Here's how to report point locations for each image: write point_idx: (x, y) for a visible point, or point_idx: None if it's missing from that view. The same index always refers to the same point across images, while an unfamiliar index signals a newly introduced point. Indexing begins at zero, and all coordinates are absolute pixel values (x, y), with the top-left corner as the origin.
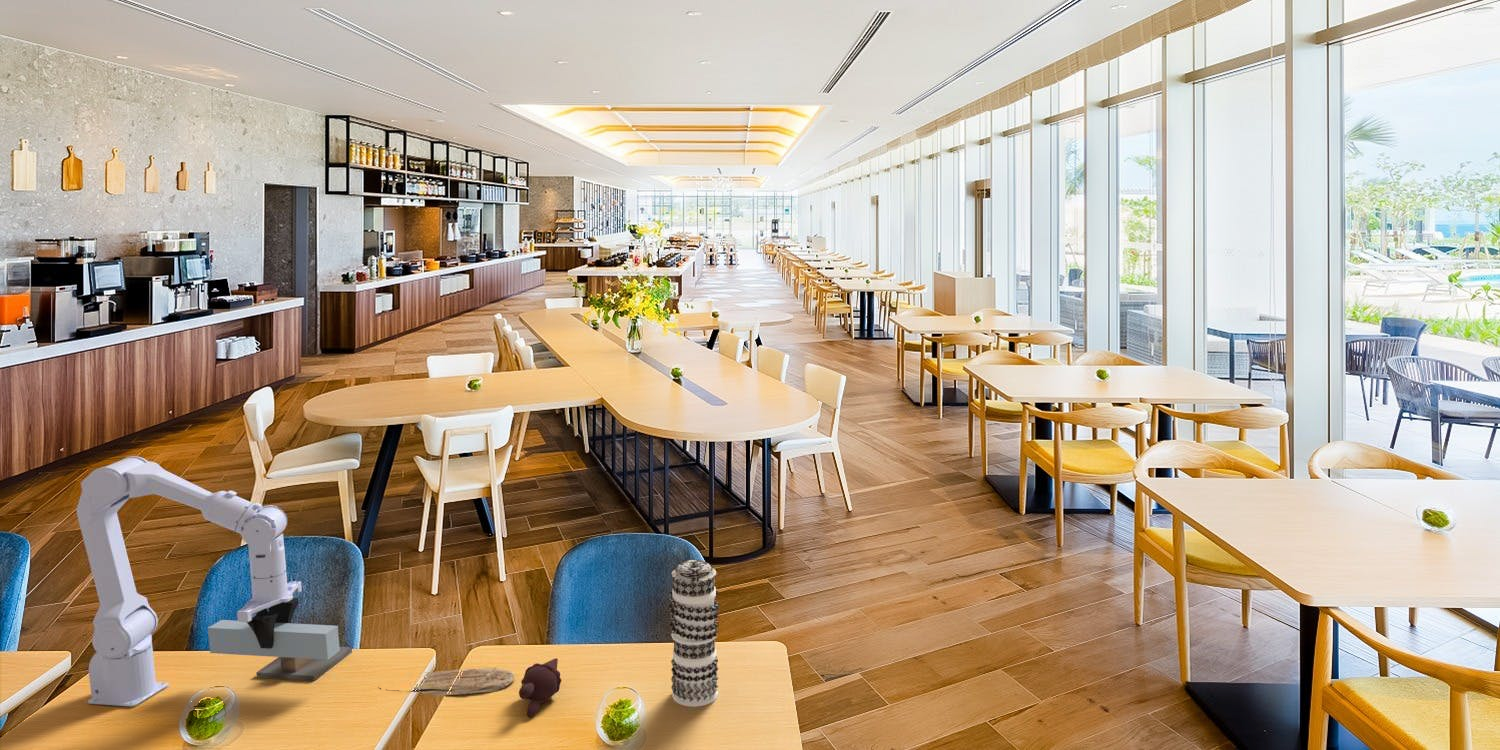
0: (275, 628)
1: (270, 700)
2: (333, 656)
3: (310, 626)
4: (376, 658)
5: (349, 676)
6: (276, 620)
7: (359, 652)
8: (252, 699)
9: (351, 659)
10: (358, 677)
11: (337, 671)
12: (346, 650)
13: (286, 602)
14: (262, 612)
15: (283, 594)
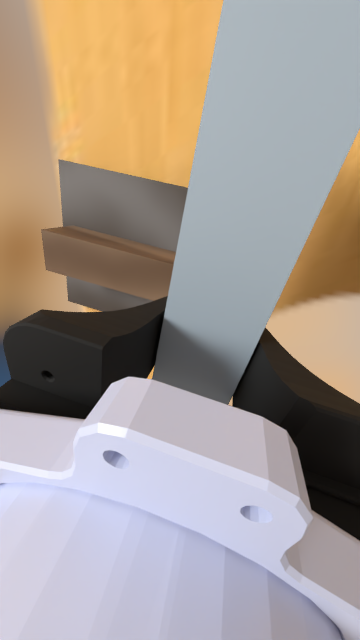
0: (221, 347)
1: (296, 266)
2: (108, 189)
3: (232, 137)
4: (88, 45)
5: (198, 85)
6: (148, 365)
7: (65, 136)
8: (278, 306)
9: (101, 141)
10: (208, 39)
11: (165, 150)
12: (75, 166)
13: (95, 391)
14: (344, 521)
15: (176, 615)
